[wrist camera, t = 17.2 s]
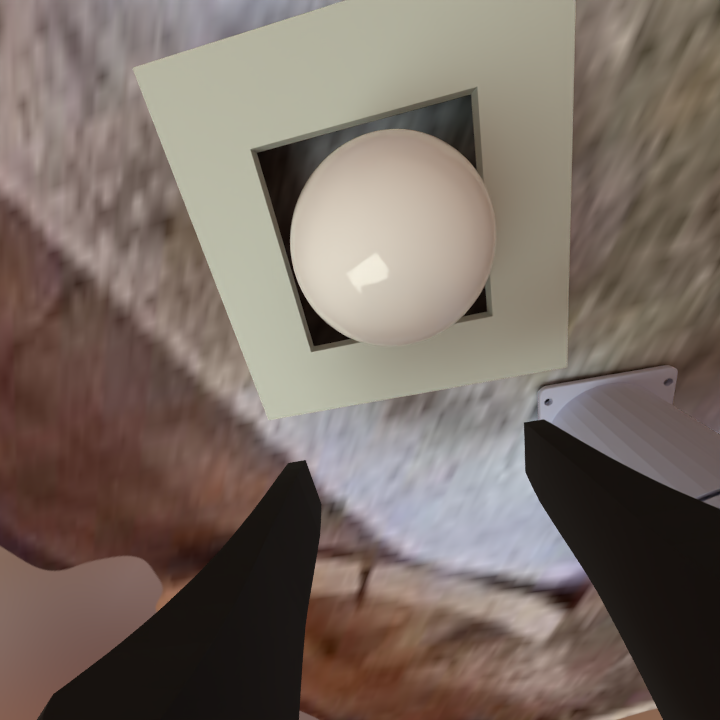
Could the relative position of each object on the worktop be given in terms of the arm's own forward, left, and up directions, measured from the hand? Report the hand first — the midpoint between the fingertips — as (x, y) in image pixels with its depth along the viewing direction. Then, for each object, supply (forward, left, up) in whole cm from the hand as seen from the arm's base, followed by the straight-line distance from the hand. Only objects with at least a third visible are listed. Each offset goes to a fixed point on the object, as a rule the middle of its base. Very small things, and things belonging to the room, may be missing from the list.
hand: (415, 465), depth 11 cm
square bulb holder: (+7, 0, -10) cm, 12 cm away
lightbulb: (+7, -1, -11) cm, 13 cm away
